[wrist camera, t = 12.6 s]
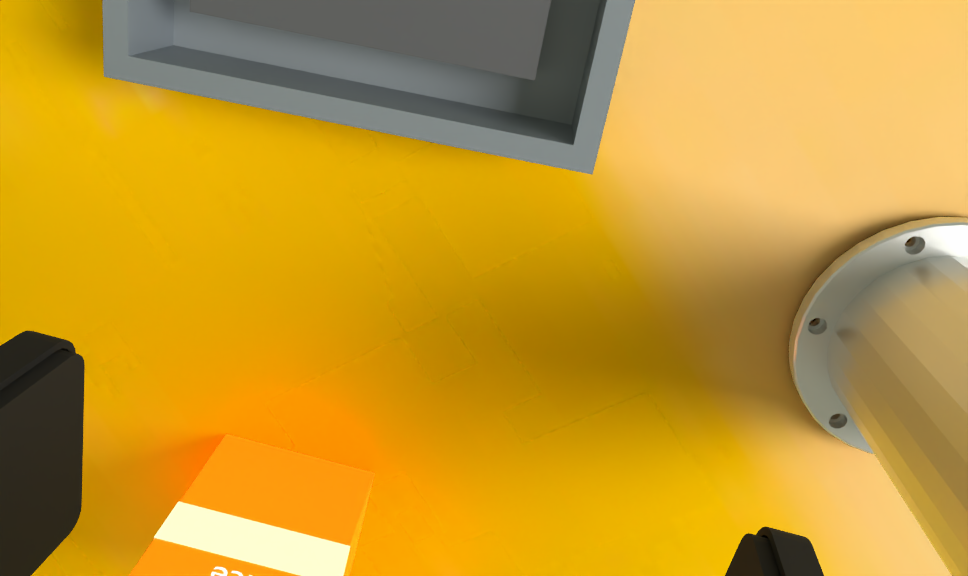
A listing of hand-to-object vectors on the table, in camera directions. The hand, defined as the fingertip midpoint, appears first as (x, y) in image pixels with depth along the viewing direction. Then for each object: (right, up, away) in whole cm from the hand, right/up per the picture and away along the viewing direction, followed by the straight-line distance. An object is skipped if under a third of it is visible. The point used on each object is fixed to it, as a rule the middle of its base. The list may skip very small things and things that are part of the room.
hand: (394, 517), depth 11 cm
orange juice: (-10, -9, +35) cm, 38 cm away
